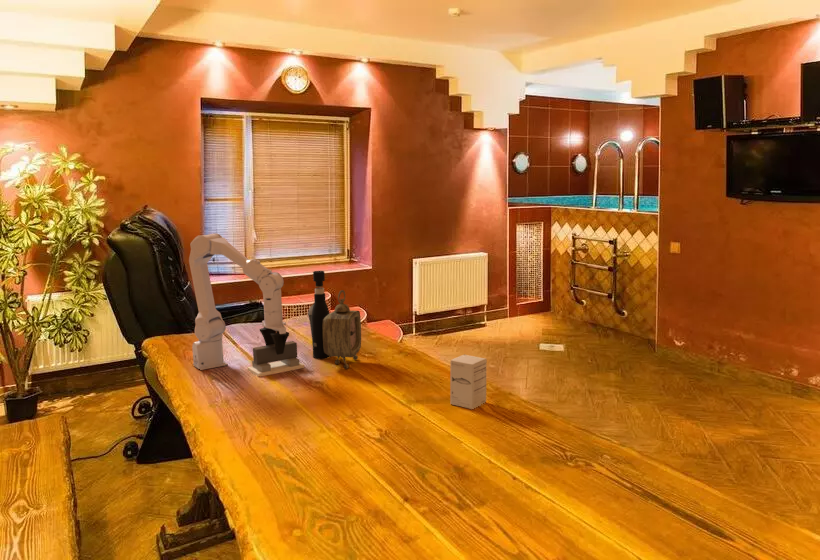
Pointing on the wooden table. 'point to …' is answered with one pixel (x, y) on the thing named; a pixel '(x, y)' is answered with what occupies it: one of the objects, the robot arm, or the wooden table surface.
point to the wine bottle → (318, 316)
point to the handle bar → (274, 353)
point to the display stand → (275, 367)
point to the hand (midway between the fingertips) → (275, 351)
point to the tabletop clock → (342, 332)
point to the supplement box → (468, 381)
